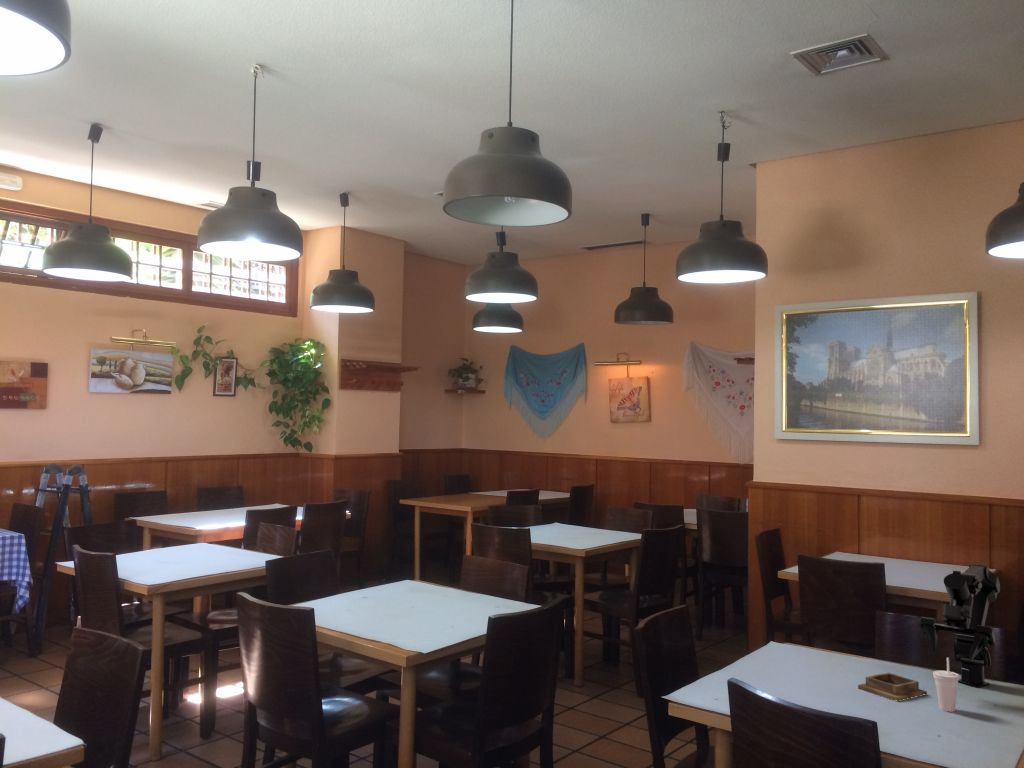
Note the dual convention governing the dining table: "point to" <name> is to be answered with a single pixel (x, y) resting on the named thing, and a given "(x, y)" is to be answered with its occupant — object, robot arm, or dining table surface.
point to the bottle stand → (892, 686)
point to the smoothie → (946, 688)
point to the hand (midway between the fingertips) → (952, 656)
